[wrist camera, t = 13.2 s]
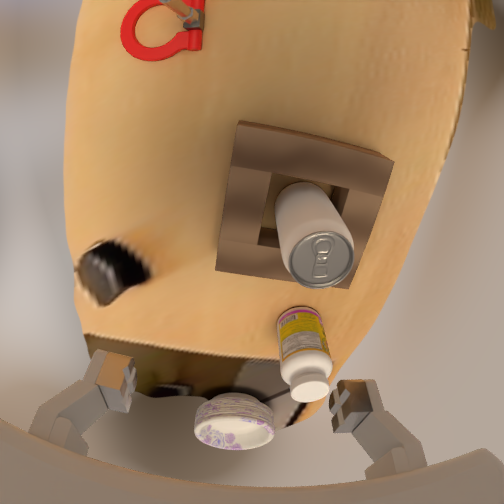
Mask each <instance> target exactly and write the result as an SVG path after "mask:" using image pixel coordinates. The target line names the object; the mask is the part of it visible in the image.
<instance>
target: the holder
mask: <svg viewBox="0 0 504 504" xmlns="http://www.w3.org/2000/svg"><path fill="white" fill-rule="evenodd" d="M393 165H394V161H392V160H390V159H389V158H387V157H385V156H384V155H382V154H380V153H379V152H376V151H372V150H369V149H365V148H362V147H358V146H355V145H351V144H348V143H344V142H340V141H336V140H332V139H328V138H324V137H320V136H316V135H312V134H307V133H303V132H298V131H294V130H289V129H284V128H279V127H274V126H269V125H263V124H258V123H252V122H246V121H239V122H238V125H237V130H236V136H235V142H234V147H233V153H232V159H231V166H230V172H229V178H228V184H227V191H226V197H225V204H224V210H223V217H222V224H221V231H220V238H219V245H218V252H217V259H216V267H215V271H222V272H228V273H235V274H242V275H248V276H255V277H262V278H269V279H276V280H283V281H290V282H296V281H295V280H294V278H293V277H292V275H291V273H290V272H289V271H288V270H287V269H286V267H285V265H284V262H283V259H282V254H281V249H280V243H279V237H278V231H277V230H274V229H268V228H262V227H261V223H262V218H263V213H264V209H265V204H266V199H267V194H268V190H269V185H270V180H271V175H272V173H276V174H281V175H287V176H292V177H297V178H302V179H307V180H312V181H316V182H321V183H326V184H330V185H335V190H334V193H333V197H332V200H331V202H332V204H333V206H334V207H335V209H336V210H337V212H338V213H339V215H340V217H341V218H342V220H343V222H344V223H345V225H346V227H347V228H348V230H349V232H350V234H351V236H352V239H353V243H354V263H353V266H352V269H351V271H350V272H349V274H348V275H347V276H346V277H345V278H344V279H343V280H342V281H341V282H339V283H338V284H336V285H334V286H331V287H335V288H343V289H349V287H350V284H351V282H352V280H353V277H354V275H355V272H356V270H357V267H358V265H359V262H360V260H361V257H362V255H363V252H364V250H365V247H366V244H367V242H368V239H369V236H370V234H371V231H372V228H373V226H374V223H375V220H376V217H377V214H378V211H379V209H380V206H381V203H382V200H383V197H384V194H385V191H386V188H387V184H388V181H389V178H390V175H391V172H392V168H393Z"/></svg>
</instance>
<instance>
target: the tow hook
mask: <svg viewBox="0 0 504 504" xmlns="http://www.w3.org/2000/svg"><path fill="white" fill-rule="evenodd" d="M204 2H205V0H139V1H138V2H136V3H135V4H134V5H133V6H132V7H131V8H130V9H129V11H128V12H127V14H126V15H125V17H124V19H123V22H122V25H121V35H120V37H121V41H122V44H123V46H124V48H125V49H126V51H127V52H128V53H130V54H131V55H132V56H133V57H136V58H138V59H141V60H146V61H158V60H163V59H166V58H169V57H171V56H173V55H175V54H176V53H178V52H179V51H181V50H184V49H188V50H190V51H197V50H201V43H202V31H203V27H204ZM157 5H165V6H167V7H168V8H169V9H171V10H172V11H173V12H175V13H176V14H177V17H178V18H179V19H180V20H182V21H183V22H184V25H183V27H184V28H185V29H186V30H188V31H184V32H178V33H177V34H176V36H175V37H174V38H173V39H172V40H171V41H170V42H168V43H167V44H165V45H163V46H160V47H156V48H147V47H145V46H143V45H141V44H140V43H139V42H138V40H137V39H136V36H135V26H136V22H137V20H138V19H139V17H140V16H141V15H142V14H143V13H144V12H145V11H146V10H148V9H149V8H151V7H154V6H157Z"/></svg>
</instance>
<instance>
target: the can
mask: <svg viewBox="0 0 504 504" xmlns="http://www.w3.org/2000/svg"><path fill="white" fill-rule="evenodd" d="M275 218H276V225H277V231H278V237H279V243H280V249H281V254H282V259H283V262H284V265H285V267H286V269H287V270H288V271H289V272H290V273H291V275H292V277H293V278H294V280H295V281H296V282H298V283H299V284H300V285H302V286H304V287H307V288H311V289H324V288H328V287H331V286H334V285H336V284H338V283H339V282H341V281H342V280H343V279H344V278H345V277H346V276H347V275H348V274H349V272H350V271H351V269H352V266H353V263H354V243H353V239H352V236H351V234H350V232H349V230H348V228H347V227H346V225H345V223H344V222H343V220H342V218H341V217H340V215H339V213H338V212H337V210H336V209H335V207H334V206H333V204H332V202H331V201H330V199H329V198H328V196H327V195H326V194H325V192H324V191H323V190H322V189H321V188H320V187H318V186H317V185H315V184H313V183H310V182H298V183H294V184H291V185H289V186H287V187H286V188H285V189H283V190H282V191H281V193H280V194H279V195H278V197H277V199H276V202H275Z"/></svg>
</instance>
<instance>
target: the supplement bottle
mask: <svg viewBox="0 0 504 504" xmlns="http://www.w3.org/2000/svg"><path fill="white" fill-rule="evenodd" d="M277 334H278V344H279V356H280V368H281V376H282V378H283V380H284V381H285V382H286V383H287V384H289V385H290V391H291V396H292V398H293V399H294V400H296V401H299V402H312V401H316V400H319V399H321V398H323V397H324V396H326V395H327V393H328V392H329V383H328V379H327V378H328V377H329V375H330V374H331V371H332V360H331V356H330V352H329V348H328V344H327V340H326V336H325V332H324V328H323V324H322V321H321V317H320V315H319V314H318V313H317V312H316V311H315V310H313V309H311V308H308V307H296V308H292V309H289V310H288V311H286V312H284V313H283V314H282V315H281V316H280V318H279V320H278V322H277Z"/></svg>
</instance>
